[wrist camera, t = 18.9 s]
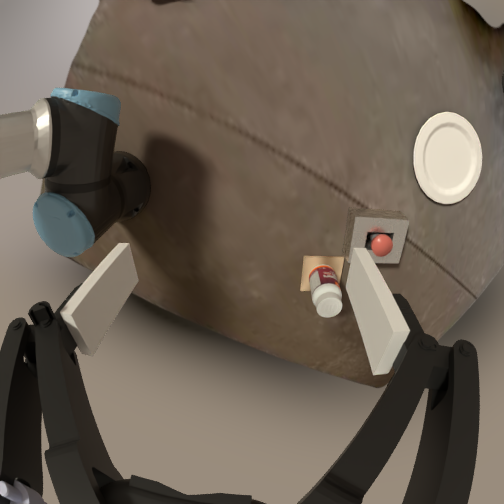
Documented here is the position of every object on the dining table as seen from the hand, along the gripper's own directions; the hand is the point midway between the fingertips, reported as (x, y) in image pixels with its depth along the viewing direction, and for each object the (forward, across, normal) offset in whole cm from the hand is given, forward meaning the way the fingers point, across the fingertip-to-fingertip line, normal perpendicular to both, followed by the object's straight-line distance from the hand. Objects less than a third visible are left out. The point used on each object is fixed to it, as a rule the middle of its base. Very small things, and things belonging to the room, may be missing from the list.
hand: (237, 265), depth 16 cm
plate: (+39, +41, +3) cm, 57 cm away
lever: (+38, +24, -15) cm, 47 cm away
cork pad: (+39, +14, -26) cm, 49 cm away
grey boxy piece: (+39, +24, -15) cm, 48 cm away
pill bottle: (+38, +14, -26) cm, 48 cm away
